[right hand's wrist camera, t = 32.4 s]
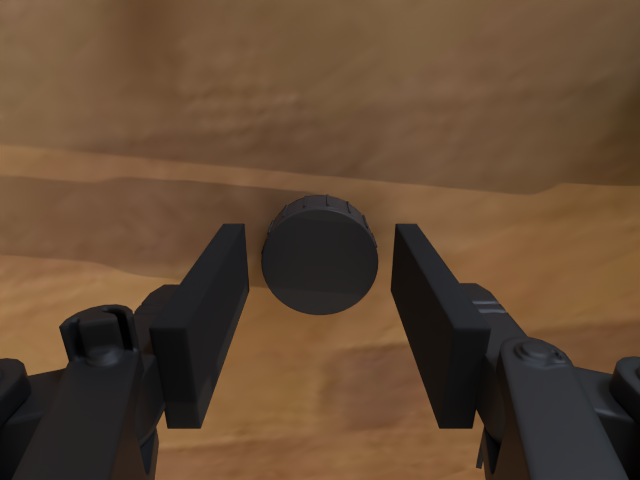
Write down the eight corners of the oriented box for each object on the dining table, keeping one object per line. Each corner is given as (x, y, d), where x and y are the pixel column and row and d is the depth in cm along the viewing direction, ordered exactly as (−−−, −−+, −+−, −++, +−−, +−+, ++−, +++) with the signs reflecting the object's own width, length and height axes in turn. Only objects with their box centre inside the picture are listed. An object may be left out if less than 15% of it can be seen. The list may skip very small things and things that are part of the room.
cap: (371, 191, 15) (378, 204, 13) (373, 288, 16) (379, 313, 15) (261, 197, 15) (253, 212, 13) (273, 294, 16) (267, 319, 15)
